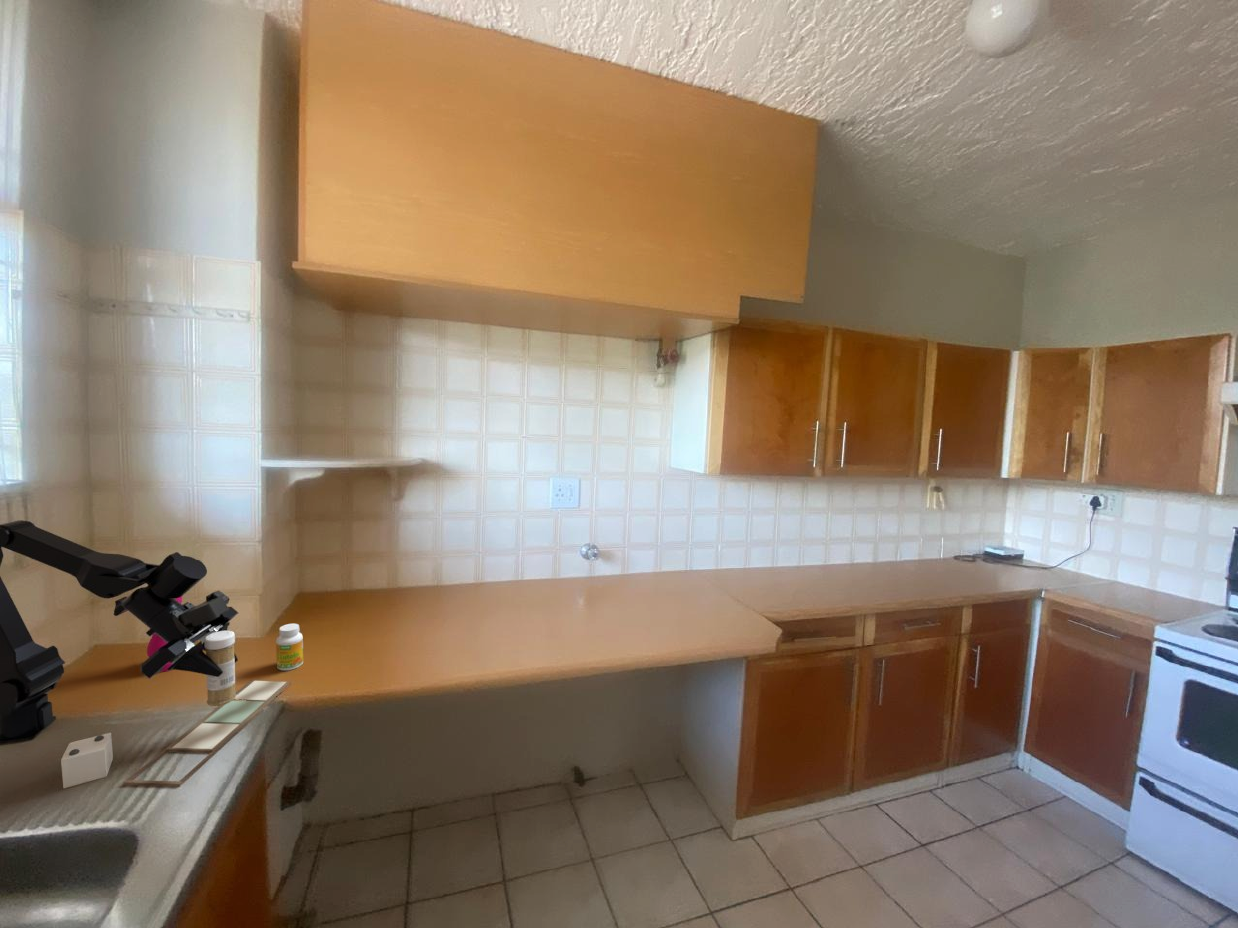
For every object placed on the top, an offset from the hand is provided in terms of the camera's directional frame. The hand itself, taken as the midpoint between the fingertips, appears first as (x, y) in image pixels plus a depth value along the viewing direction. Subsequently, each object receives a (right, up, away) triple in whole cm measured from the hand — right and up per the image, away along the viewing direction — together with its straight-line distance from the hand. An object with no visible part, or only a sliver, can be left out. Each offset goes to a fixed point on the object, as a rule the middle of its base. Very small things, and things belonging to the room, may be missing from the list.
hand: (228, 668), depth 98 cm
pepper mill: (-31, -8, +21) cm, 38 cm away
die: (-15, -13, -12) cm, 23 cm away
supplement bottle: (-4, -9, +24) cm, 26 cm away
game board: (-3, -12, +2) cm, 12 cm away
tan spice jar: (-2, -7, +1) cm, 7 cm away
